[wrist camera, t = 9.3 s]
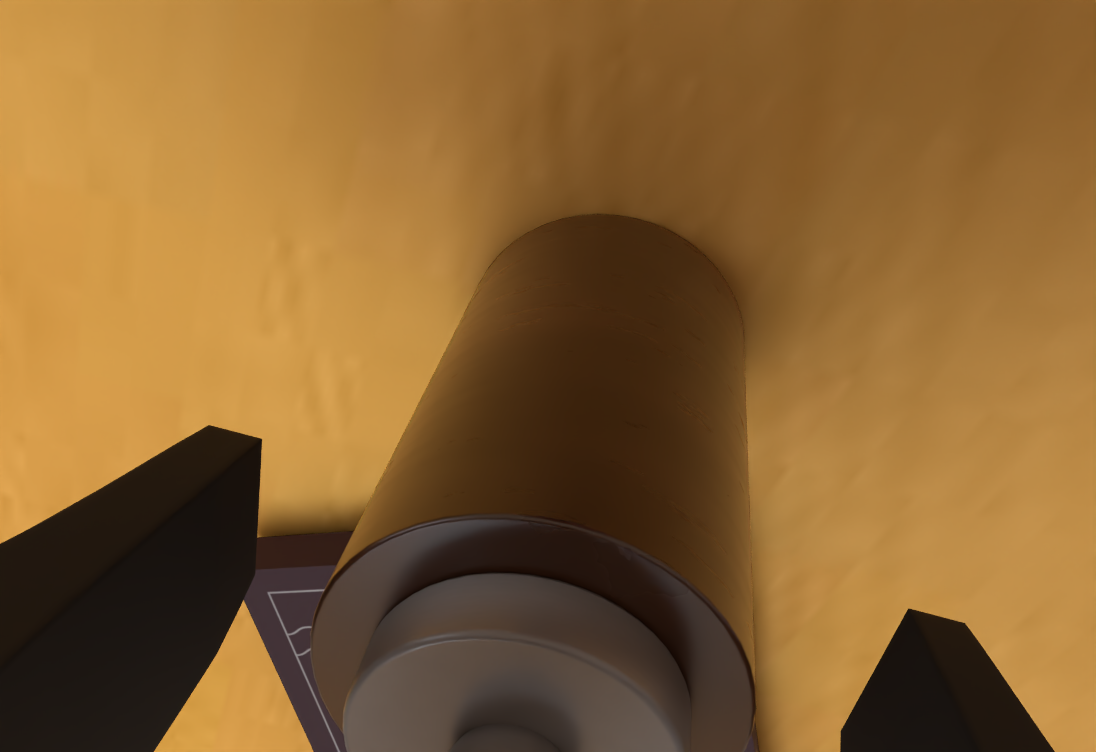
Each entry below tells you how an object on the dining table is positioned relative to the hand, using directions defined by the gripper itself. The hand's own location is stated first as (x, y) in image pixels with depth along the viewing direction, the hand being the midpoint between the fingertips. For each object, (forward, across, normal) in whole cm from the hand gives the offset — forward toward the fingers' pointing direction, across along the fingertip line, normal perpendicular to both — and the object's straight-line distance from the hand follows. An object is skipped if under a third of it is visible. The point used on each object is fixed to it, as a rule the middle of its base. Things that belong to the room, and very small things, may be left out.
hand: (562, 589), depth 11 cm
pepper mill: (+6, 0, 0) cm, 6 cm away
